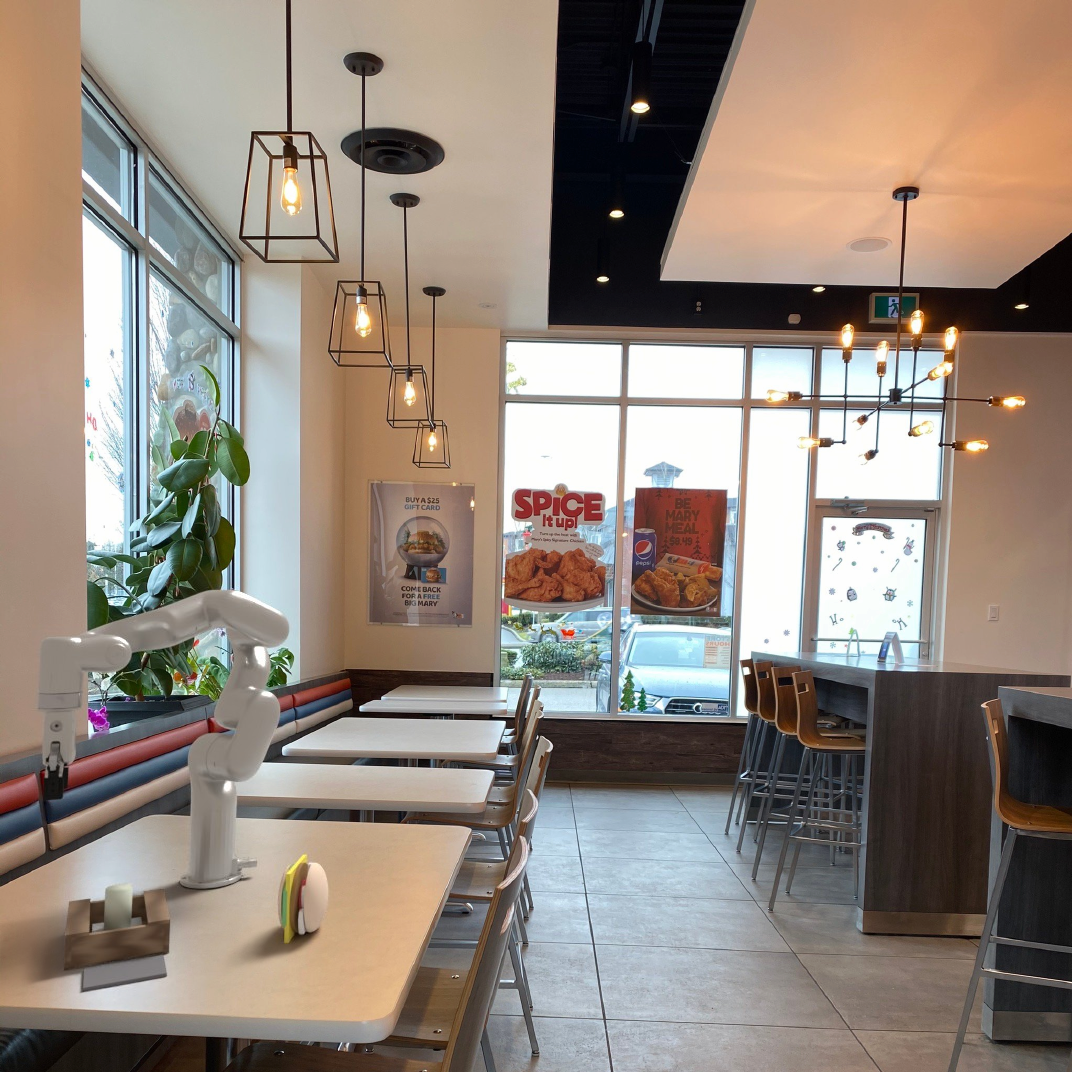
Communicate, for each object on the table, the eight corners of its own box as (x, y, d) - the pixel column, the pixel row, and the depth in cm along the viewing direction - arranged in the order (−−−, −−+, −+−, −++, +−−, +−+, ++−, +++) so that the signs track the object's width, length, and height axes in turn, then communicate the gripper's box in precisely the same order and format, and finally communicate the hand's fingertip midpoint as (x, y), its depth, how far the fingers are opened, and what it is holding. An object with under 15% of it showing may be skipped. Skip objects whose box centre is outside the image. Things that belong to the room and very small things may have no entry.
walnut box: (162, 918, 162) (163, 888, 163) (169, 952, 146) (170, 919, 147) (67, 932, 155) (69, 901, 156) (63, 970, 139) (65, 935, 140)
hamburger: (318, 943, 151) (319, 874, 152) (271, 943, 151) (273, 874, 152) (332, 918, 163) (334, 854, 164) (289, 918, 163) (291, 854, 164)
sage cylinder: (130, 921, 154) (132, 882, 155) (131, 930, 150) (133, 889, 151) (103, 925, 152) (105, 885, 153) (103, 934, 148) (105, 893, 149)
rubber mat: (163, 958, 144) (163, 954, 144) (166, 976, 137) (166, 973, 137) (83, 971, 139) (84, 968, 139) (82, 991, 132) (83, 988, 132)
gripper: (79, 706, 154) (74, 802, 152) (85, 696, 169) (81, 783, 168) (31, 707, 151) (26, 806, 149) (42, 698, 166) (38, 786, 165)
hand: (55, 794), depth 159 cm, fingers open, 9 cm apart
